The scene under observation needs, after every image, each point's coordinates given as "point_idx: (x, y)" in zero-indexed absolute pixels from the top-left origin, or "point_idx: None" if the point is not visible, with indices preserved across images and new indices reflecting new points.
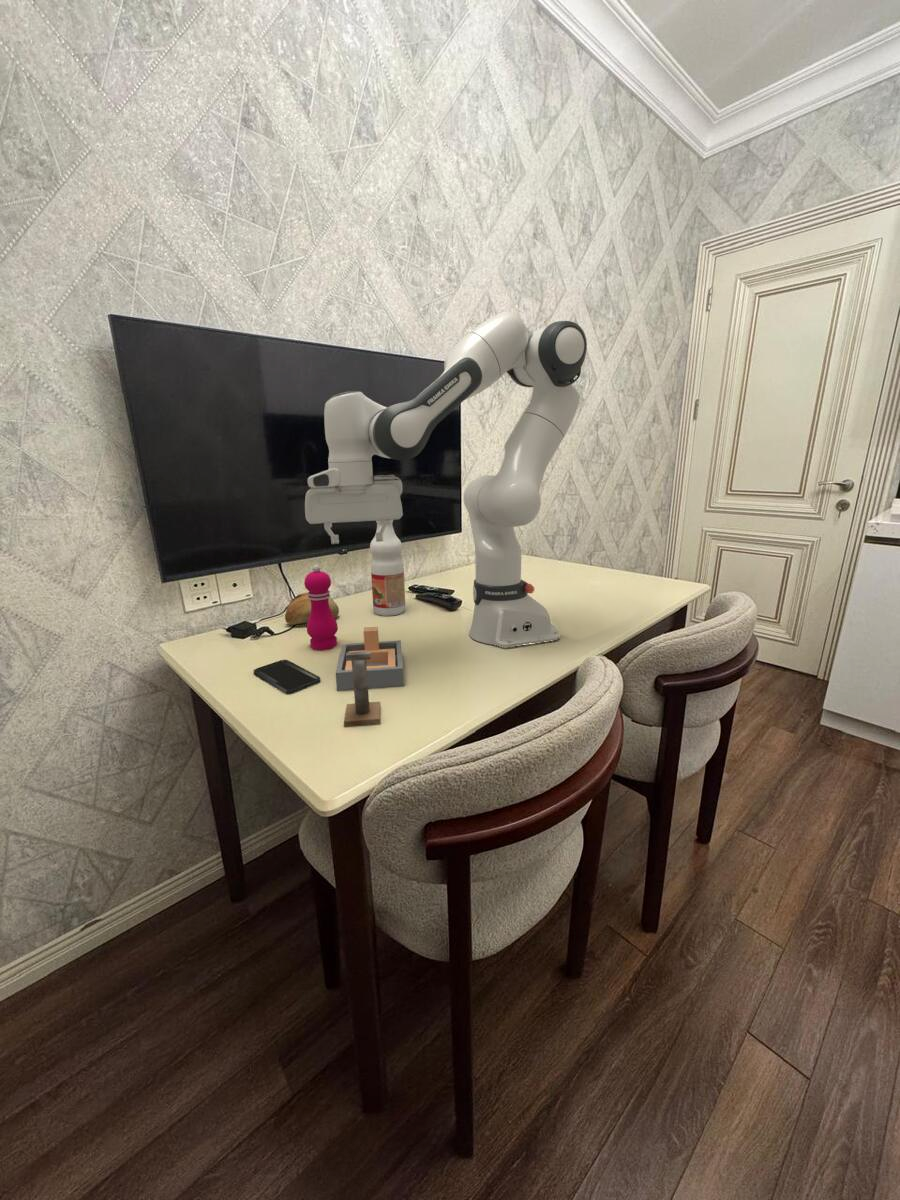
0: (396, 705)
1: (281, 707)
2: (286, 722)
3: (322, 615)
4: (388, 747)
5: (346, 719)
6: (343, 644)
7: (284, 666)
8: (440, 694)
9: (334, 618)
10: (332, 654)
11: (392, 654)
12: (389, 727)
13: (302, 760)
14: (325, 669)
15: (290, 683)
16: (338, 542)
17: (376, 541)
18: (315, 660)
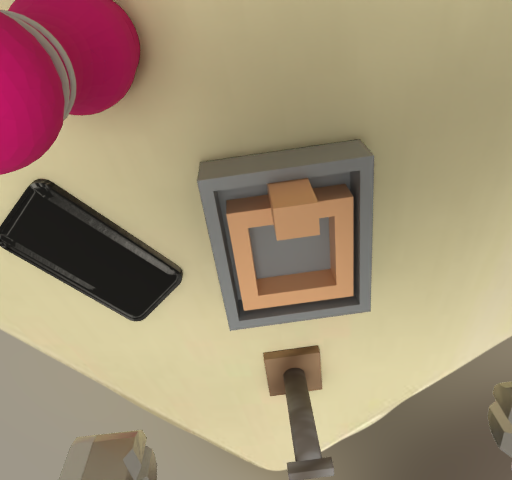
0: (344, 341)
1: (148, 351)
2: (178, 383)
3: (78, 105)
4: (334, 417)
5: (273, 392)
6: (201, 184)
7: (61, 218)
8: (423, 311)
9: (114, 48)
10: (154, 123)
11: (346, 233)
12: (334, 387)
13: (234, 438)
14: (170, 217)
15: (125, 292)
16: (154, 468)
17: (489, 416)
18: (120, 165)
